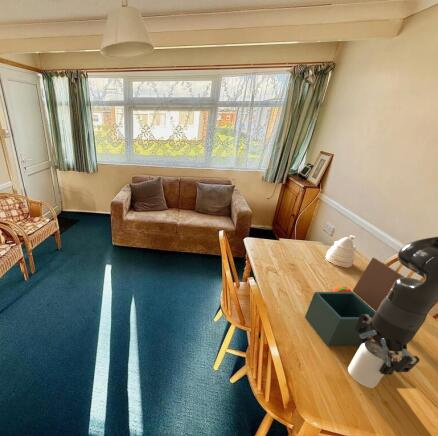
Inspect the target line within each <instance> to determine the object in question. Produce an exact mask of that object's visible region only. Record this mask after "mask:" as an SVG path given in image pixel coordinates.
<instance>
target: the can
mask: <svg viewBox="0 0 438 436" xmlns="http://www.w3.org/2000/svg"><path fill="white" fill-rule="evenodd" d="M389 353H392V351H389ZM384 363H386V362H385V356H384V355H383V349H382V348H381V347H380V345H379V344H378V343H377V342H375V341H374V340H372V341H366V342H365V343H363V344H361V346H360V347H359V348H357V350H356V353H355V354H354V355H353V358H352V359H351V361H350V364H348V367H347V372H348V374H349V375H350V377H351V378H352V379H353V380H354V381H355V382H356V383H358V384H359V385H360V386H362V387H365V388H369V389H374V388H376V386H377V385H378V384H379V383H380V381H381V380H382V379H383V377H384V376H385V374H381V373H380V372H379V370H380V368H381V367H382V365H383V364H384Z"/></svg>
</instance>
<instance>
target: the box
mask: <svg viewBox="0 0 438 436" xmlns="http://www.w3.org/2000/svg"><path fill="white" fill-rule="evenodd" d="M375 313H376V311H375V310H374V309H373V308H371V307H370V306H369V305H368V304H367V303H366V302H365V301H363V300H362V299H361V298H360V297H359V296H358V295H356V294H355V293H354V292H353V291H352V292H334V291H314V292H313V296H312V298H311V301H310V302H309V305H308V308H307V310H306V313H305V315H304V318H305V319H306V321H307V322H308V323H309V325H310V326H311V327H312V328H313V330H314V331H315V332H316V334H317V336H319V338H320V339H321V341H323V343H324V344H325V345H326V346H327V347H357V342H358V340H359V338H360V336H359V335H360V334H359V332H357V331H356V330H355V327H356V324H357V322H358V319H359V317H360V315H363V314H370V315H371V316H372V318H373V316H374V315H375ZM368 331H371V329H370V325H369V327H368V329H367V332H368ZM370 340H371V341H373V338H371V339H370Z"/></svg>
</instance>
